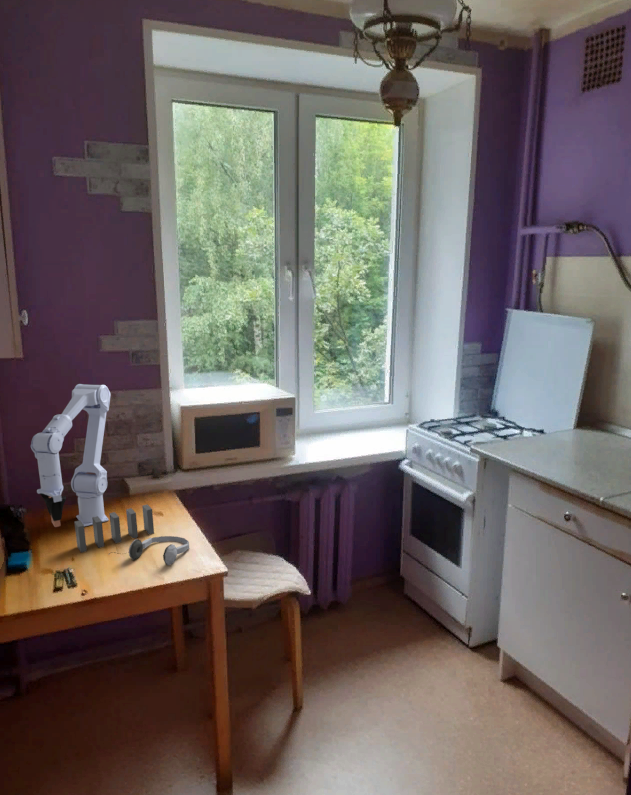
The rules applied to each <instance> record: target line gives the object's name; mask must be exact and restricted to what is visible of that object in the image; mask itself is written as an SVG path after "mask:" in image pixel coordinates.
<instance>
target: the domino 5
mask: <svg viewBox="0 0 631 795" xmlns="http://www.w3.org/2000/svg"><path fill="white" fill-rule="evenodd" d="M125 513H126V523H127V524H126V525H127V531H128V532H127V533H128V536H130V538H131V539H132V538H135V539H138V538H139V534H138V523H137V522H138V520H137V513H136V511H135V510H134V509H133V508H132V507H130V508H126V511H125ZM137 537H138V538H137Z"/></svg>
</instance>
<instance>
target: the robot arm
mask: <svg viewBox="0 0 631 795" xmlns="http://www.w3.org/2000/svg"><path fill="white" fill-rule="evenodd" d="M111 394H112V393H111V392H110V390H109V388H108V385H107V386H106V385H105V384H83V383H78V384H76V385H75V386H74V389H72V390H71V399H70V400H69V401H68V403H67V405H66V407H65V408H63V411H62V413H61V414H59V413H58V414H56V415H54V416H53V417H52V419H51V420H50V421H49V422H48V424H47V425H46V426H45V428H44V429H43V430H42V432H38V433H36V434H34V435H33V437H32V439H31V443H30V448H31V451H32V452H33V454H34V457H35V459H37V466H38V467H37V468H38V474H39V481H40V482H39V483H40V488H38V489H37V490H36V493H37V494H38V495H40V496H41V497H42V499H43V500H44V502H45V505H46V508H47V509H46V510H47V511H48V514H49V516H50V517H51V516H52V519H53V521H58V520H60V521H61V520H62V517H63V510H64V509H63V508H64V506H65V503H66V500H67V496H65V495H63V496H62V494H63V491H64V485H63V479H62V478H63V477H62V470H61V462H60V453H59V452H60V451H61V449H62V447H63V442H64V440H65V437H66V435H67V434H68V433H69V431H70V430H71V429H72V427H73V420H74V419H75V418H76V417H77V416H78V415H79V414H80V413H81V411H82V410H83V411H85V412H87V414H88V420H87V427H86V435H85V443H84V451H83V458H82V463H81V464H80V465H78V466H77V467H76V468H75V469H74V473H73V476H72V478H71V481H70V487H71V489H72V491H73V492H74V493H75V496H77V505H78V514H77V515H76V516H75V517H76V518H77V521H79V520H80V521H81V522H82V523H83V525H84V527H87V526H88V527H89V526H93V520H92V517H96V516H98V517H99V518H100V519H101V521H102V523H104V522H108V521H110V518H109V517H108V516H107V515H106V514H105V507H104V506H105V505H104V493H105V491H106V490H107V488H108V474H107V473H108V471H107V470H106V468H104V467H103V466H102V465H101V460H102V452H103V451H102V450H103V443H104V434H105V428H106V427H105V426H106V420H107V413H108V412H109V409H110V403H111ZM91 473H92V474H91ZM49 496H51V498H49Z"/></svg>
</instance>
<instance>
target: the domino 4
mask: <svg viewBox="0 0 631 795" xmlns="http://www.w3.org/2000/svg"><path fill="white" fill-rule="evenodd" d="M109 522H110V523H109V524H110V534H111V539H112V540H113V542H114V543H115V544H120V543H122V531H121V523H120V516H119V515H118V514H117V513H116V512H115V511H114V512H109Z"/></svg>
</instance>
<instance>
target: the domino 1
mask: <svg viewBox="0 0 631 795" xmlns="http://www.w3.org/2000/svg"><path fill="white" fill-rule="evenodd" d="M49 498H51V496H49ZM50 518H51V520H50V521H51V523H52V525H53V527H54V528H59V527H61V520H58V521H53V519H52V516H51V515H50Z"/></svg>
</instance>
